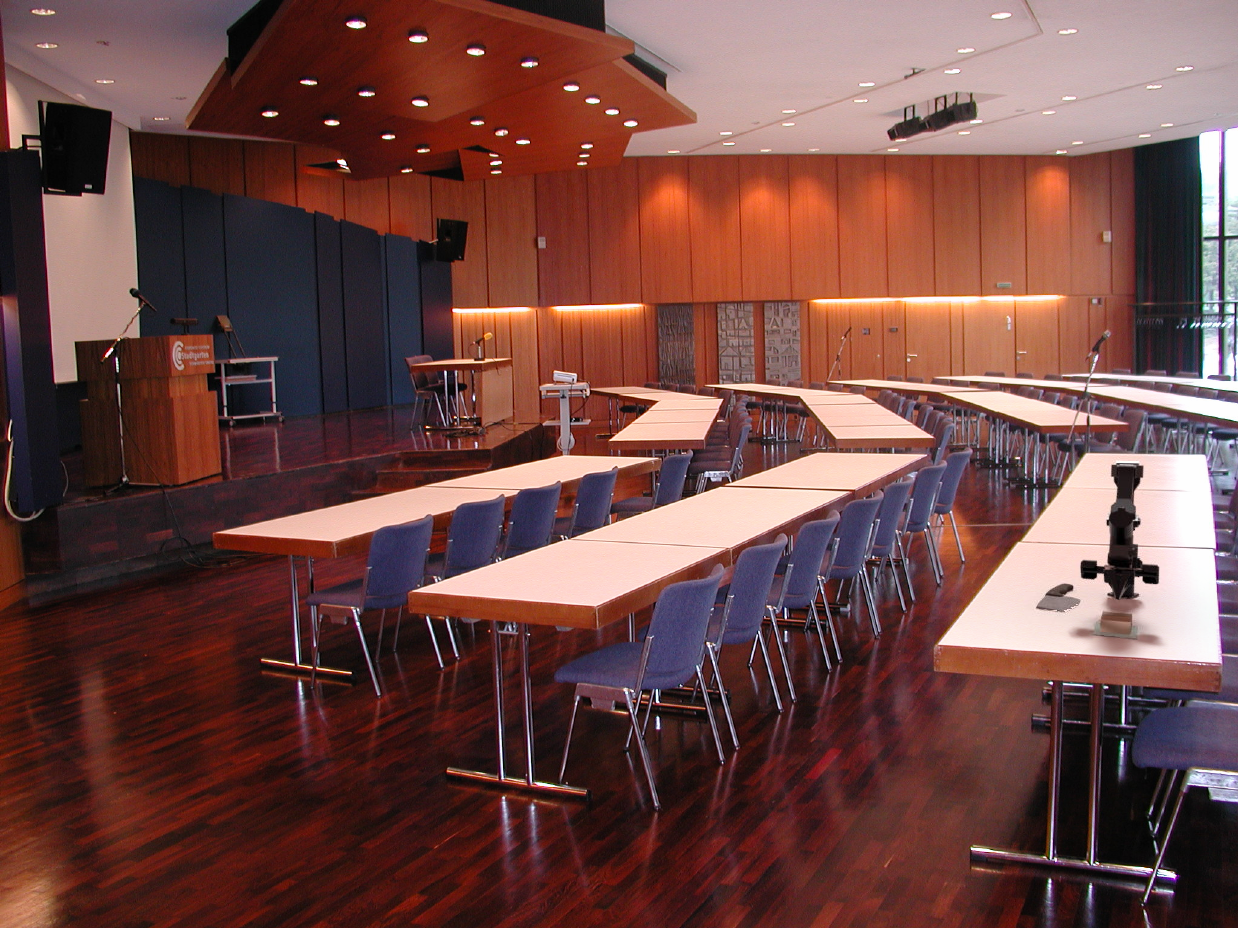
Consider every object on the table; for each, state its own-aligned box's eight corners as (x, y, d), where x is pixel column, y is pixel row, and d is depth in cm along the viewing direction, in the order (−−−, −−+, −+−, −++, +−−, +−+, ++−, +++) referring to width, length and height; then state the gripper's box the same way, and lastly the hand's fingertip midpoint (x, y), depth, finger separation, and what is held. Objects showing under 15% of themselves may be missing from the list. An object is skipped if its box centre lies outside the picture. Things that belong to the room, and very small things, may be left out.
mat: (1096, 623, 276) (1096, 622, 276) (1138, 627, 271) (1138, 626, 271) (1092, 634, 265) (1092, 633, 265) (1136, 639, 261) (1136, 638, 260)
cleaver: (1054, 588, 317) (1054, 581, 316) (1089, 591, 311) (1089, 585, 311) (1034, 611, 292) (1034, 603, 292) (1071, 615, 287) (1071, 607, 287)
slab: (1102, 610, 276) (1100, 620, 267) (1132, 613, 272) (1130, 622, 264) (1102, 621, 276) (1100, 631, 267) (1131, 624, 273) (1130, 634, 264)
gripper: (1081, 529, 278) (1077, 578, 270) (1160, 534, 269) (1158, 585, 261) (1083, 553, 286) (1079, 601, 277) (1159, 558, 277) (1157, 608, 269)
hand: (1117, 598), depth 271 cm, fingers closed
